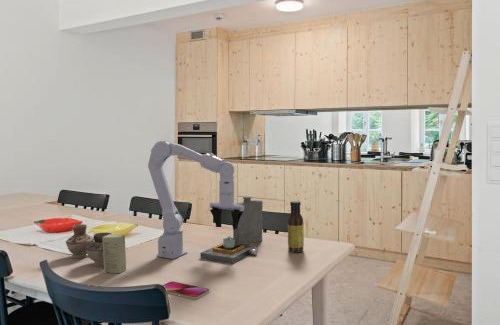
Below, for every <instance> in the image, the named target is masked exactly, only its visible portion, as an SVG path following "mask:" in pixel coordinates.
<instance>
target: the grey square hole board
mask: <svg viewBox="0 0 500 325" xmlns="http://www.w3.org/2000/svg"><path fill="white" fill-rule="evenodd" d="M249 255H253V256H257V255H258V249H256V245H249V244H245V245H244V244H237V243H235V249H234V250H226V249H223V242H221V243H220V244H217V245H216V246H213V247H211V248H208V249H206V250H203V251H201V252H200V259H203V260H209V261H216V262H223V263H229V264H234V263H236V262H238V261H240V260H242V259H244V258H245V257H247V256H249Z"/></svg>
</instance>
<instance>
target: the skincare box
mask: <svg viewBox="0 0 500 325" xmlns="http://www.w3.org/2000/svg"><path fill="white" fill-rule="evenodd" d="M111 234H112V233H111ZM111 234H109V235H107V236H104V237H102V240H103V261H104V266H103V273H105V272H109V273H108V274H121V273H123V272H124V271H127V259H126V257H127V255H126V237H125V236H126V235H125V234H112V235H111Z"/></svg>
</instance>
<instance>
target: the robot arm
mask: <svg viewBox="0 0 500 325" xmlns="http://www.w3.org/2000/svg"><path fill="white" fill-rule="evenodd" d="M172 156H182V157H185V158H188V159H190V160H192V161H195V162H197V163H199V164H200V167H201V168H203V169H206V170H208V171H211V172H213V173H215V174H218V173H219V181H218V184H219V185H218V186H219V187H218V189H219V190H218V192H219V193H218V198H219V202H214V201H213V202H209V209H210V210H209V211H210V214H211V215H212V218H213V220H214V222H215V227H216V228H219V227H221V225H222V224H221V221H222V212H223V210H231V211H230V213H231V214H230V215H231V218H232V219H231V220H232V230H233V229H237V227H238V223H239V220H240V217H241V215H242V213H243V211H244V205H238V204H236V203H235V181H234V179H235V176H234V174H235V166H234V164H233V163H232V162H230V161H228V160H226V159H225V158H220V157H217V156H216V155H215V154H214V153H212V152H210V153H204V154H202V153H199V152H197V151H195V150H192V149H190V148H189V147H186V146H184V145H182V144H179V143H176V142H171V141H170V140H160V141H157V142H156V143H154V145H153V146H152V148H151V149H150V155H149V160H148V163H147V168H148V171H149V174H150V177H151V179H152V182H153V185H154V190H155V192H156V195H157V198H158V201H159V205H160V207H161V214H162V216H161V217H162V220H163V222H162V227H163V229H164V230H163V233H162V234H161V235H160V236H159V237H158V239H157V254H156V257H159V258H166V259H171V260H174V259H176V258H178V257H181V256H183V255H186V254H188V251H186V250H184V246H183V245H184V238H183V236H184V233H183V232H184V231H183V228H182V227H181V226H182V225H183V222H184V218H183V216H182V215H181V214H180V212H179V210H178V208H177V207H176V205H175V203H174V200H173V196H172V192H171V190H170V188H169V184H168V181H167V178H166V174H165V172H164V169H163V166H164V165H165V163H166V161H167V159H168V158H169V157H172ZM225 160H226V161H225ZM233 210H234V211H233Z"/></svg>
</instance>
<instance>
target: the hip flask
mask: <svg viewBox="0 0 500 325" xmlns="http://www.w3.org/2000/svg"><path fill="white" fill-rule="evenodd" d="M242 199H243V202H237V203H235V204H238V205H244V211H243V213H242V215H241V217H240V220H239V223H238V227H237V229H233V228H232V232H233V236H232V238H234V239H235V243H237V244H244V245H249V244H253V243H256V242H262V241H263V200H256V199H255V200H253V199H252V196H249V195H248V196H242ZM232 211H234V210H232Z"/></svg>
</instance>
